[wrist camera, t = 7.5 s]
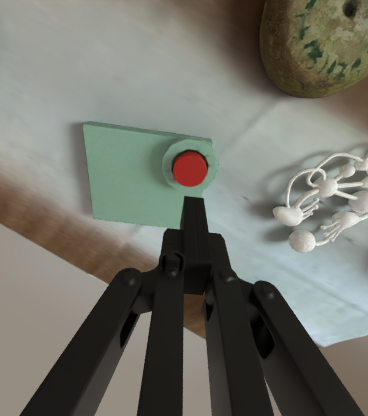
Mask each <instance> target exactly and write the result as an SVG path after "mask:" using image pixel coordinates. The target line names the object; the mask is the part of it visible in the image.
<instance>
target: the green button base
mask: <svg viewBox="0 0 368 416" xmlns="http://www.w3.org/2000/svg"><path fill="white" fill-rule="evenodd" d="M83 132H84V141H85V150H86V158H87V167H88V175H89V184H90V193H91V201H92V210H93V218H94V219H98V220H107V221H115V222H124V223H133V224H141V225H150V226H158V227H167V228H176V229H180V220H181V214H182V208H183V201H184V196H191V197H199V198H202V193H203V189H206V188H207V187H208V186H209V184H210V183H211V182H212V181H213V180H214V179H215V177H216V173H217V169H218V161H217V158H216V155H215V152H214V150H213V147H212V145H213V142H212V140H211V139H208V138H201V137H194V136H187V135H180V134H173V133H166V132H160V131H153V130H146V129H139V128H132V127H125V126H118V125H112V124H105V123H98V122H91V121H90V122H87V123H84V124H83ZM187 151H193V152H196V153H198V154H200V155H201V156H202V157H203V159H204V161H205V164H206V168H207V174H206V177H205V179H204V180H203V182H202V183H200V184H199V185H197V186H194V187H185V186H183V185H181V184H179V183H178V182H177V181H176V179H175V177H174V174H173V168H174V162H175V160H176V158H177V157H178V156H179V155H180V154H182V153H184V152H187Z"/></svg>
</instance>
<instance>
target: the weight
mask: <svg viewBox="0 0 368 416" xmlns="http://www.w3.org/2000/svg"><path fill="white" fill-rule="evenodd" d="M260 53H261V58H262V61H263V64H264V67H265V70H266V72H267V74H268V76H269V78H270V80H271V81H272V82H273V84H274V85H275V86H277V87H278V88H279V89H281V90H282V91H283V92H285V93H287V94H289V95H291V96H295V97H299V98H320V97H325V96H329V95H332V94H335V93H337V92H339V91H342V90H344V89H346V88H348V87H350V86H352V85H354V84H355V83H357V82H358V81H360V80H362V79H363V78H365V77H366V76H367V75H368V0H266V1H265V4H264V10H263V15H262V20H261V25H260Z"/></svg>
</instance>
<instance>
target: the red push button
mask: <svg viewBox="0 0 368 416" xmlns="http://www.w3.org/2000/svg"><path fill="white" fill-rule="evenodd" d="M173 174H174V177H175V179H176V181H177V182H178V183H179V184H181V185H183V186H185V187H194V186H197V185H199V184H200V183H202V182H203V180H204V179H205V177H206V174H207V168H206V164H205V161H204V159H203V157H202V156H201V155H200V154H198V153H196V152H193V151H187V152H184V153H182V154H180V155H179V156H178V157H177V158H176V160H175V162H174V168H173Z"/></svg>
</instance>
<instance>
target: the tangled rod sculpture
mask: <svg viewBox="0 0 368 416" xmlns="http://www.w3.org/2000/svg"><path fill="white" fill-rule="evenodd" d="M335 156H345V157H348V158H351V159H354V160H356V162H355V163H354V166H352V165H344V166H342V167H341V168H340V171H339V172H340V174H339V175H337V176H336V177H335V178H331V177H328V176H326V174H325V172H324V170H322V169H320V167H321V166H322V165H323V164H325V163H326V162H327V161H329V160H330V159H331V158H332V157H335ZM354 167H355V168H354ZM355 169H357V170H359V171H363V170H365V171H366V172H367V174H368V154H367V155H366V157H365V158H359V157H357V156H354V155H351V154H348V153H340V152H339V153H334V154H331V155H329V156H328V157H327V158H325V159H324V160H323V161H322V162H320V163H319V164H318V165H317V166H316V167H315V168H309V169H305V170H302V171H300V172H298V173H297V174H295V175H294V176H293V177H292V178H291V179H290V181H289V183H288V186H287V190H286V196H285V202H286V207H275V208H274V209H273V214H274V216H275V218H276V220H278V221H279V222H281V223H283V224H285V225H287V226H295V225H298V224H299V223H300V222H301V221H302V220H304V219H306V218H307V217H308V216H312V215H313V212H312V211H313V210H316V209H318V206H317V205H314V204H315V203H316V202H318V201H319V198H317V197H315V198H313V202H312V203H311V204H310V205H309V206H307V207H306V208H304V209H302V210H301V209H300V208H299V206H300V205H301V203H302V202H303V201H304V200H305V199H307V198H308V197H310V196H312V195H314V194H316V195H317V196H320V197H329V196H332V195H333V194H335V195H338V196H342V197H345V198H348V199H349V202H348V203H349V206H350V208H351V209H352V210H354V211H356V212H359V213H365V214H363V215H362V216H359V217H358V216H357V215H356V214H354V213H352V212H349V211H340V212H337V213H336V214H334V216H333V217H332V224H330V225H327V226H324V225H322V226H321V229H322V230H324V229H326V228H328V227H331V226H333V225H334V226H335V227H336V228H334V229H333V230H332V231H330V232H328V233H327V232H325V233H323V236H325V237H326V238H324V239H323V240H321V241H316V242H315V238H314V236H313V235H312V234H311V233H310V232H309V231H307V230H302V229H299V230H295V231H294V232H292V233H291V234H290V236H289V244H290V246H291V247H292V248H293V249H294V250H295V251H297V252H300V253H306V252H309V251H311V250H312V249H313V248H314V246H320V245H323V244H325V243H327V242H328V241H330V242H334V239H335V238H336V237H337V235H338V234H339V233H340V232H341V231H342V230H343V229H345V228H349V227H351V226H353V225H354V224H356V223H358V222H359V221H362V220H365V219H366V218H368V191H358V192H355V193H353V194H352V195H349V194H346V193H343V192H340V191H337V188H344V187H355V186H361V187H364V188H368V176H367V177H366V178H365V179H363V180H362V181H360V182H354V183H343V184H337V181H338V180H339V179H341V178H342V177H350V176H352V175H353V174H354V173H355ZM315 171H318V172H320V173H321V174H322V177H320V178H318V179H317V180H316V181H315V182H314V183H311V182H310V178H311V177H312V175H313V174H314V173H315ZM306 172H310V173H309V175H308V176H307V180H306V181H307V184H308V185H310V186H312V188H313V190H310V191H308V192H306V193H305V194H303V195H302V196H301V197H300V198H299V199H298V200H297V201H296V203H295V204H294V206H289V192H290V188H291V185H292V183H293V181H294V180H295V179H296V178H297V177H298V176H299V175H301V174H303V173H306ZM311 206H313V207H312V208H311V209H310V210H308V211H307V212H304V211H305V210H307V209H309V208H310V207H311ZM303 212H304V213H303ZM306 214H307V215H306ZM304 215H305V216H304ZM303 216H304V217H303Z"/></svg>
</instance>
